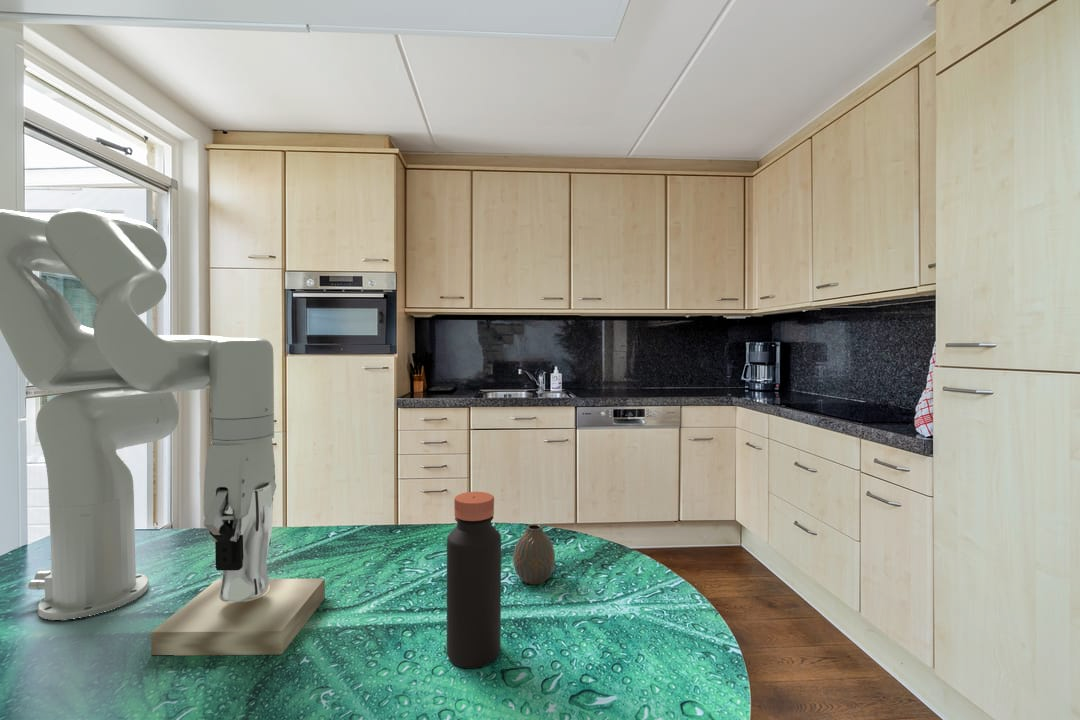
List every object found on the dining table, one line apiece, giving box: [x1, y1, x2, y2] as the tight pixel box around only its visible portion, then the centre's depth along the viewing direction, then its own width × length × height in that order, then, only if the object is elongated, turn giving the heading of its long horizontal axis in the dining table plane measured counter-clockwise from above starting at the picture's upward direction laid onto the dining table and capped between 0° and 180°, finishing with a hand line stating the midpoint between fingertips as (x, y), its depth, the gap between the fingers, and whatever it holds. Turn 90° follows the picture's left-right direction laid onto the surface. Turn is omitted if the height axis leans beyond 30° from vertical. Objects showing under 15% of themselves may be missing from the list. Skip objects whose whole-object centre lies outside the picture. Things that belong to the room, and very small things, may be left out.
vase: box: [512, 523, 556, 585], centre depth 85 cm, size 7×7×9 cm
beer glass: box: [219, 481, 274, 604], centre depth 71 cm, size 7×7×15 cm
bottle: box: [446, 491, 502, 669], centre depth 65 cm, size 7×7×20 cm
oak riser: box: [150, 578, 326, 656], centre depth 71 cm, size 16×14×3 cm
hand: (244, 556), depth 71 cm, fingers closed on beer glass, 6 cm apart
